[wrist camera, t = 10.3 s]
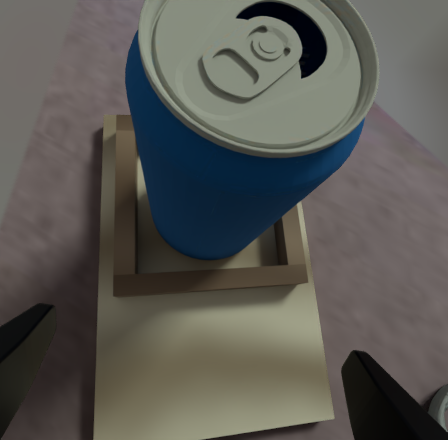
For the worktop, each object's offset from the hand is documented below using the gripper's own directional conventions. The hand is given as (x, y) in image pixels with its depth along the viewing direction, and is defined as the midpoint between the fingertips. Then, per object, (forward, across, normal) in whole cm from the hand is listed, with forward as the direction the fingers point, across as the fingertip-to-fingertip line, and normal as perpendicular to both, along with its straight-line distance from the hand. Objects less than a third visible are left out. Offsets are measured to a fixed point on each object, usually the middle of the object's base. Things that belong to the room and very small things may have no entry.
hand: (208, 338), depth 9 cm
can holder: (+9, 0, +3) cm, 9 cm away
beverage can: (+10, 0, +1) cm, 10 cm away
